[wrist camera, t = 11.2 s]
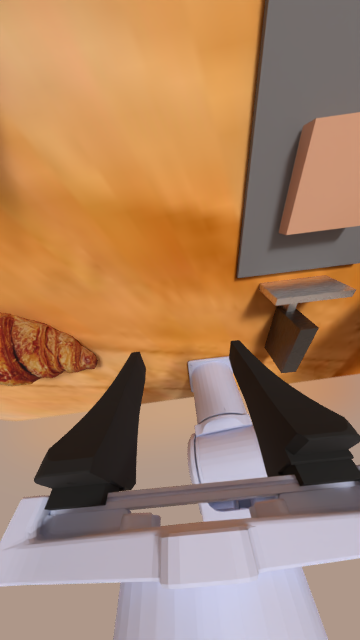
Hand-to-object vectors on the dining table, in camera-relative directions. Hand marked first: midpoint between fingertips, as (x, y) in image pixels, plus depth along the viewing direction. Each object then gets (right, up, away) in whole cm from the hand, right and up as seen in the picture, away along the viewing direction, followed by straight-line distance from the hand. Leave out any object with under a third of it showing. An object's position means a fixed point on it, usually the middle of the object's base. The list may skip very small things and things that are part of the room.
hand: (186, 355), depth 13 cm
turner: (+14, +3, +10) cm, 18 cm away
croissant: (-23, +1, +10) cm, 25 cm away
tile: (+13, +11, +3) cm, 17 cm away
